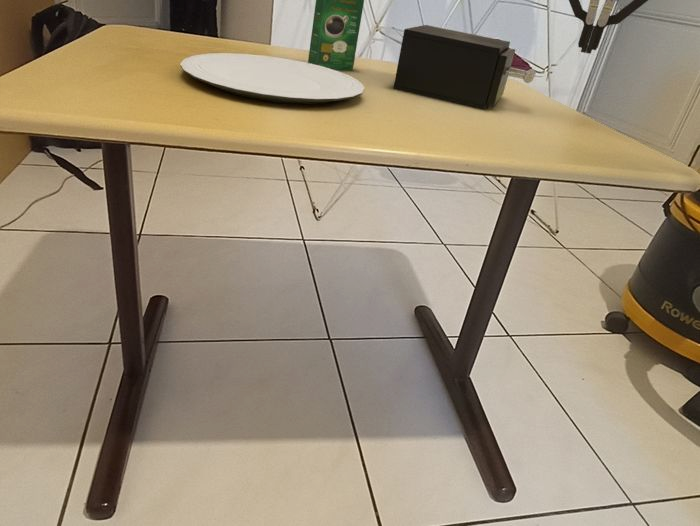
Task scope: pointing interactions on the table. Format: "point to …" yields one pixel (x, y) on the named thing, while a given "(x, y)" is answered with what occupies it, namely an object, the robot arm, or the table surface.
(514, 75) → the grey box with handle
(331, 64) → the coffee box
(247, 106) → the table surface
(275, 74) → the plate
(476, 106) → the black drawer box
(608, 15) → the robot arm
